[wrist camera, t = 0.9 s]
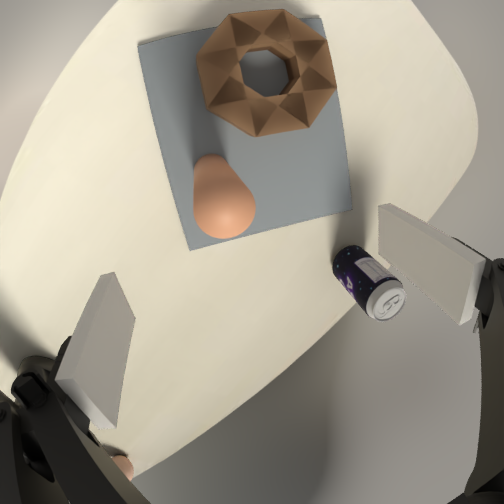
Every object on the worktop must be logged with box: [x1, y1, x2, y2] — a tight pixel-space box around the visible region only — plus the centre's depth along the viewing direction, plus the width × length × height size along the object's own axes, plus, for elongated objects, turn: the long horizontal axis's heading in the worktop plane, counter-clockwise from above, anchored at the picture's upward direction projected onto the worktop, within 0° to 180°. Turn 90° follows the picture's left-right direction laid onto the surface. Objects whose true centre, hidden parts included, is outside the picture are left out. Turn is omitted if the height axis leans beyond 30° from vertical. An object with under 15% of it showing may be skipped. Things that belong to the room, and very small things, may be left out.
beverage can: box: [332, 245, 406, 322], centre depth 37 cm, size 6×6×12 cm
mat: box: [137, 18, 352, 251], centre depth 32 cm, size 22×26×1 cm
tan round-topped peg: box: [193, 154, 256, 239], centre depth 26 cm, size 4×4×16 cm
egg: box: [112, 455, 134, 481], centre depth 52 cm, size 7×7×9 cm
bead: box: [196, 9, 337, 137], centre depth 28 cm, size 14×14×4 cm
